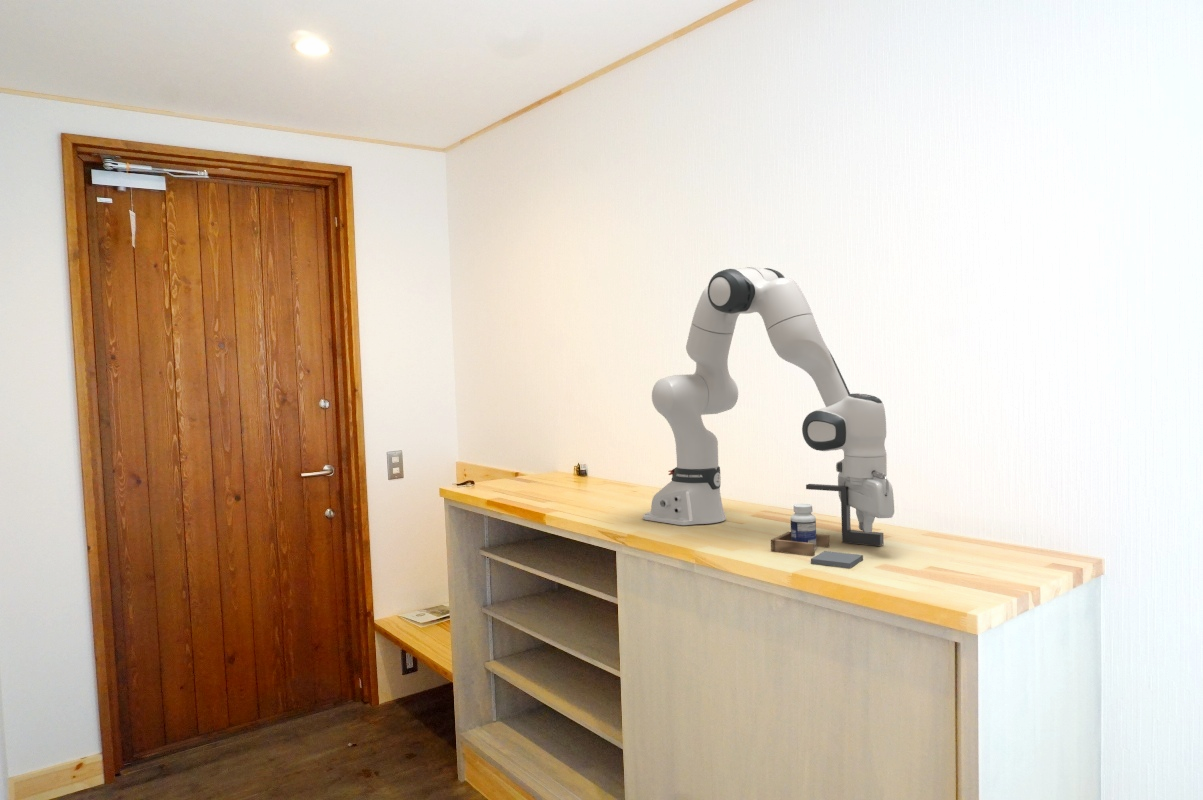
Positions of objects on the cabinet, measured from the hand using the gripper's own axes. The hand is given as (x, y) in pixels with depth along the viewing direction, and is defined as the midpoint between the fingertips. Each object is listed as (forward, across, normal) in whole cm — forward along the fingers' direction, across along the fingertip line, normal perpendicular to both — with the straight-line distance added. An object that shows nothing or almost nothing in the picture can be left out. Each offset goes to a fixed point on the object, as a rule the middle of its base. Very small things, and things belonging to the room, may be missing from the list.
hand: (865, 530), depth 171 cm
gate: (+4, +6, +2) cm, 7 cm away
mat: (+4, -11, +11) cm, 16 cm away
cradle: (+4, +2, +14) cm, 14 cm away
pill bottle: (+4, +2, +14) cm, 14 cm away
